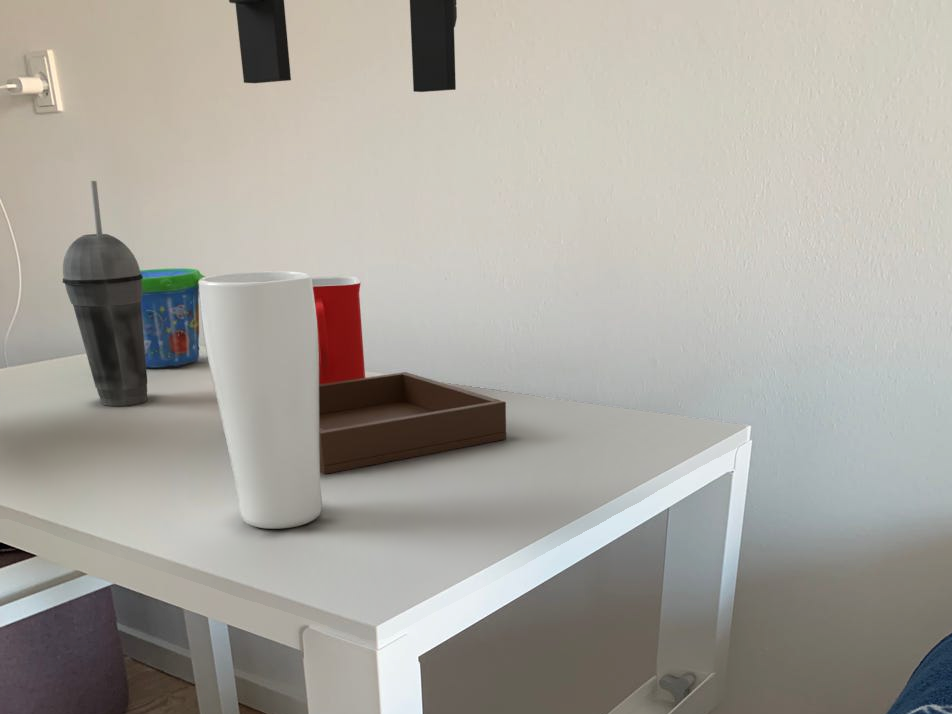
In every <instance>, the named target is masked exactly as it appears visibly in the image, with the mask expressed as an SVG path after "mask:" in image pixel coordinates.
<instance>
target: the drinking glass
mask: <svg viewBox="0 0 952 714" xmlns="http://www.w3.org/2000/svg"><path fill="white" fill-rule="evenodd" d="M311 277H312V275H311V274H309V273H306V272H299V271H284V270H283V271H276V270H272V271H271V270H270V271H245V272H244V271H243V272H232V273H231V272H230V273H223V274H222V273H221V274H215V275H209V276H206V277H204V278H201V279H200V280H199V281H198V285H199V306H200V307H199V308H200V316H201V324H202V325H201V326H202V332H203V339H204V345H205V350H206V356H207V362H208V366H209V370H210V375H211V380H212V383H213V388H214V393H215V398H216V401H217V406H218V411H219V416H220V419H221V424H222V425H221V426H222V429H223V433H224V437H225V443H226V448H227V451H228V456H229V457H228V458H229V461H230V465H231V470H232V475H233V479H234V484H235V489H236V497H237V504H238V512H239V515H240V517H241V519H242V520H243V522H245V523H247V525H249V526H251V527H255V528H259V529H268V530H269V529H270V530H277V529H278V530H281V529H290V528H297V527H300V526H303V525H306V524H309V523H312V522H313V521H315V520H316V519H317V518H319V516H320V515H321V513H322V509H323V496H322V488H321V487H322V485H321V472H320V433H319V343H318V328H317V317H316V307H315V300H314V292H313V285H312V278H311Z"/></svg>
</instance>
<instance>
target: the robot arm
mask: <svg viewBox="0 0 952 714" xmlns="http://www.w3.org/2000/svg"><path fill="white" fill-rule="evenodd" d="M228 2H229V3H230V4H234V5H235V13H236V22H237V31H238V42H239V51H240V59H241V69H242V77H243V78H242V79H243V83H244V84H263V83H277V82H288V81H292V75H291V64H290V53H289V42H288V31H287V29H288V28H287V19H286V8H285V0H228ZM457 9H458V7H457V0H409V15H410V17H409V18H410V38H411V58H412V59H411V63H412V64H411V67H412V86H413V87H412V88H413V89H412V90H413V92H414V93H428V92H442V91H456V90H457V87H456V86H457V85H456V81H457V80H456V51H455V50H456V49H455V47H456V45H455V27H456V25H457V24H456V23H457V19H458V15H457V14H458V10H457Z"/></svg>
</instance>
